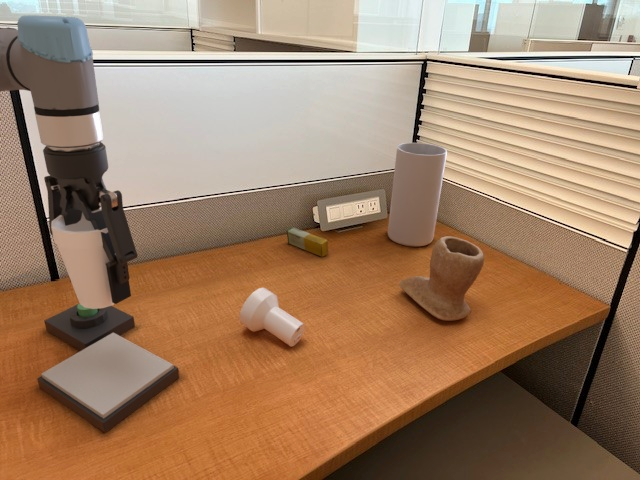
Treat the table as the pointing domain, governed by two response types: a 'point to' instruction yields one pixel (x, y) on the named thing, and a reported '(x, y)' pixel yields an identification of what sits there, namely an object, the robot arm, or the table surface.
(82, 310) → the button
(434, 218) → the cylinder vase
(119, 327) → the dark grey button base
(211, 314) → the table surface
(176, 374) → the scale
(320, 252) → the medication box
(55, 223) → the foam cup
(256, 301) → the spotlight
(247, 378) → the table surface
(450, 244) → the stone cup
